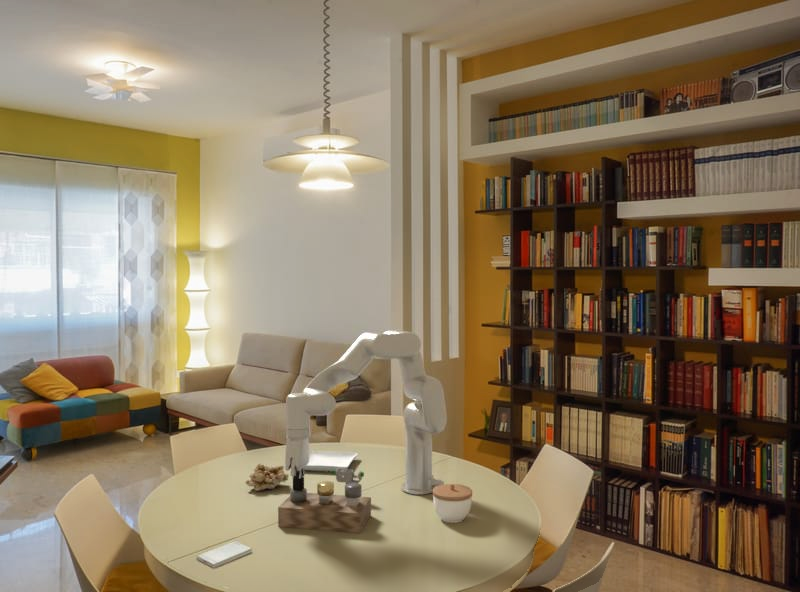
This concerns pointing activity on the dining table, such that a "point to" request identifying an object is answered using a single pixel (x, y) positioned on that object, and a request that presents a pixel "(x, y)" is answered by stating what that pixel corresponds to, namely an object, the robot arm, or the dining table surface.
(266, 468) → the mineral formation
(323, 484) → the knob middle
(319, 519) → the knob panel
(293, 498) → the knob
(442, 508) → the lidded bowl
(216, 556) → the hard drive
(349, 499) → the knob
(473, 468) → the dining table surface
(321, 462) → the salad plate
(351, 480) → the mechanical component
